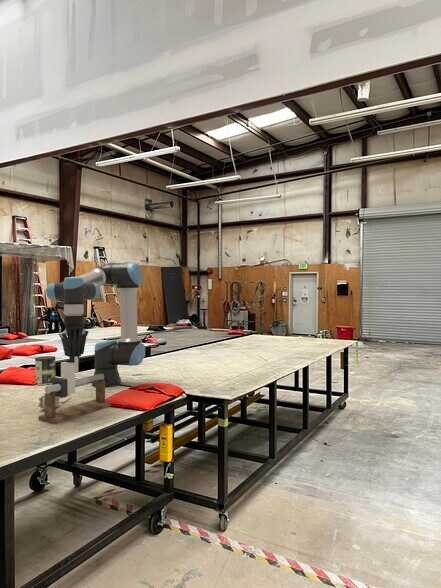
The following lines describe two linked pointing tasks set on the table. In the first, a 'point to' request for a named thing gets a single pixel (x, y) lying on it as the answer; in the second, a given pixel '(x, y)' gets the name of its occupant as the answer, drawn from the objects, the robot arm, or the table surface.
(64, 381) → the dark gray nut plate
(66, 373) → the white u-shaped bracket
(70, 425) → the table surface
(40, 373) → the coffee can
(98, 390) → the pipe stand
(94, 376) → the steel pipe
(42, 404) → the electrical component
